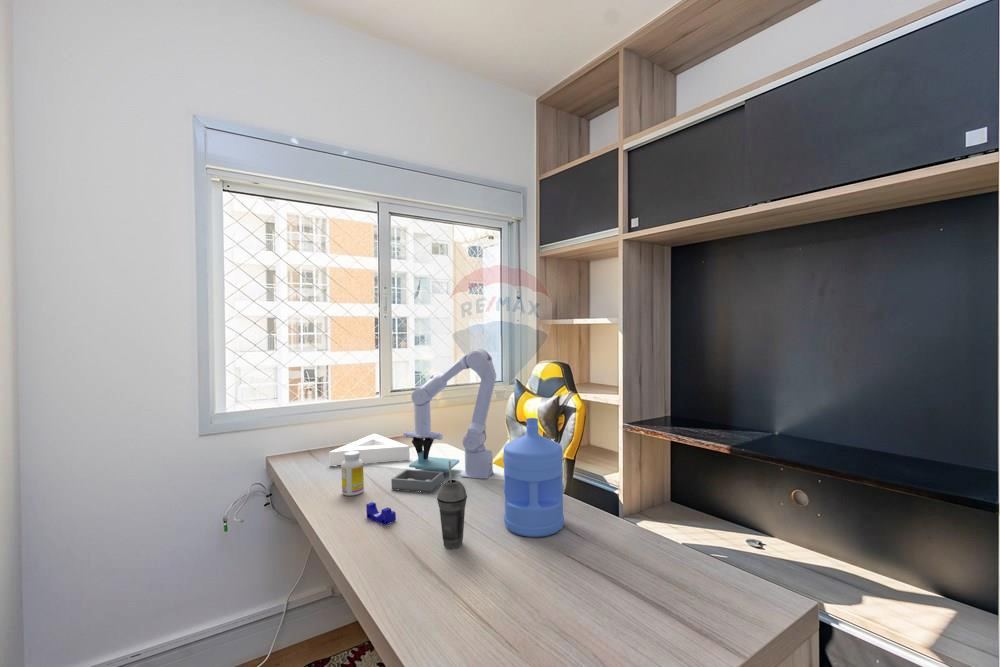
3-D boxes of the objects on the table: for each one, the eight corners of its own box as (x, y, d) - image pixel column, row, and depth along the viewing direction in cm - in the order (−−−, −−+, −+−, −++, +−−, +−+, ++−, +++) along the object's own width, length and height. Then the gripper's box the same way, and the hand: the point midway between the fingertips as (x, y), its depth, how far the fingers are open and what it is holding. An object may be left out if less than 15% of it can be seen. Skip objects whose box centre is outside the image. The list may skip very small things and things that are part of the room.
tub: (443, 482, 154) (443, 472, 154) (431, 493, 145) (431, 482, 145) (405, 479, 158) (405, 469, 158) (391, 489, 148) (391, 479, 148)
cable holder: (395, 521, 125) (395, 506, 125) (385, 525, 122) (385, 511, 122) (376, 514, 130) (376, 500, 130) (366, 518, 127) (366, 504, 127)
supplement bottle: (367, 489, 149) (366, 450, 149) (358, 496, 143) (357, 455, 143) (347, 488, 150) (346, 449, 150) (338, 496, 143) (337, 455, 143)
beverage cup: (444, 554, 106) (442, 469, 105) (433, 541, 112) (431, 460, 112) (473, 547, 109) (471, 464, 109) (461, 534, 116) (459, 456, 115)
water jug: (505, 512, 129) (503, 413, 128) (561, 512, 128) (560, 413, 127) (502, 538, 113) (500, 426, 113) (566, 539, 112) (564, 425, 112)
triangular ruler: (329, 468, 174) (329, 452, 174) (339, 450, 199) (338, 435, 199) (409, 462, 180) (409, 446, 180) (409, 445, 205) (408, 431, 205)
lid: (459, 464, 168) (459, 450, 168) (448, 474, 158) (448, 459, 157) (422, 460, 172) (422, 446, 172) (409, 469, 161) (409, 455, 161)
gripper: (399, 422, 164) (400, 460, 164) (436, 424, 160) (437, 462, 160) (408, 418, 170) (409, 454, 171) (444, 420, 167) (445, 457, 167)
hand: (423, 458), depth 166 cm, fingers closed on lid
